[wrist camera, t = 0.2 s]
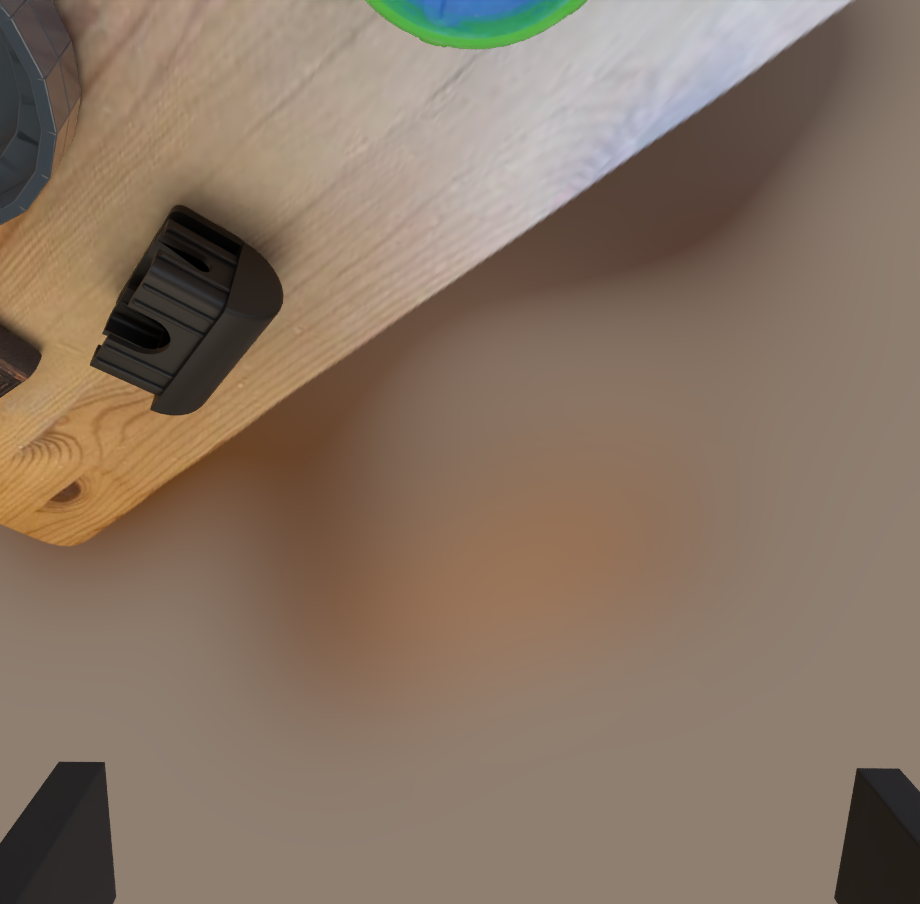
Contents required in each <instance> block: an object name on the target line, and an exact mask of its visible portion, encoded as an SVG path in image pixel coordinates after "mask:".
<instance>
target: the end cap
mask: <svg viewBox="0 0 920 904" xmlns="http://www.w3.org/2000/svg"><path fill="white" fill-rule="evenodd" d="M282 304H283V290H282V285H281V283H280V280H279V278H278V276H277V274H276V272H275V271H274V269H273V268H272V267H271V265H270V264H269V263H268V261H267V260H266V259H265V258H264V257H263V256H262V255H261V254H260V253H258V252H257V251H256V250H255V249H253V248H252V247H251V246H249V245H248V244H246V243H245V242H244V241H242V240H241V239H240V238H238V237H237V236H235V235H233V234H231V233H230V232H228V231H226V230H225V229H223V228H221V227H219V226H218V225H216V224H214V223H212V222H211V221H209V220H207V219H205V218H204V217H202V216H200V215H198V214H197V213H195V212H193V211H192V210H190V209H188V208H186V207H183V206H175V207H174V208H173V209H172V210H171V211H170V213H169V215H168V216H167V218H166V220H165V221H164V223H163V224H162V226H161V228H160V229H159V231H158V233H157V234H156V236H155V238H154V239H153V241H152V242H151V244H150V246H149V247H148V249H147V251H146V252H145V254H144V256H143V257H142V259H141V260H140V262H139V264H138V265H137V267H136V269H135V270H134V272H133V274H132V275H131V277H130V278H129V280H128V282H127V283H126V285H125V287H124V288H123V290H122V292H121V293H120V295H119V297H118V299H117V302H116V306H115V307H114V309H113V311H112V313H111V314H110V317H109V319H108V321H107V323H106V326H105V328H104V331H103V333H102V334H104V335H106V336H107V338H106V339H105V341H104V343H103V344H102V346H101V345H98V347H97V348H96V351H95V353H94V355H93V358H92V360H91V363H90V366H92V367H95V368H97V369H99V370H101V371H103V372H106V373H108V374H110V375H112V376H115V377H117V378H119V379H121V380H124V381H126V382H128V383H130V384H132V385H135V386H137V387H139V388H141V389H144V390H146V391H148V392H150V393H153V394H155V396H154V399H153V402H152V405H151V409H150V410H152V411H155V412H158V413H161V414H166V415H184V414H189V413H192V412H194V411H196V410H197V409H199V408H200V407H201V406H203V404H204V403H205V402H206V401H207V399H208V398H209V397H210V396H211V395H212V393H213V392H214V391H215V390H216V388H217V387H218V386H219V385H220V383H221V382H222V381H223V380H224V379H225V377H226V376H227V375H228V374H229V372H230V371H231V370H232V369H233V368H234V366H235V365H236V364H237V363H238V361H239V360H240V359H241V358H242V356H243V355H244V354H245V353H246V352H247V350H248V349H249V348H250V347H251V345H252V344H253V343H254V342H255V341H256V339H257V338H258V337H259V336H260V334H261V333H262V332H263V331H264V330H265V328H266V327H267V326H268V325H269V323H270V322H271V321H272V320H273V318H274V317H275V316H276V315H277V313H278V312H279V311H280V309H281V306H282Z"/></svg>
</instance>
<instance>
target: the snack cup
mask: <svg viewBox="0 0 920 904" xmlns="http://www.w3.org/2000/svg"><path fill="white" fill-rule="evenodd" d="M365 1H366V2H367V3H368V4H369V5H370V6H371V7H372V8H373V9H374V10H375V11H376V12H378V13H379V14H380V15H381V16H383V17H384V18H385V19H386V20H388V21H389V22H391V23H392V24H394V25H395V26H397V27H399V28H400V29H402V30H404V31H406V32H408V33H410V34H412V35H414V36H416V37H418V38H419V39H420V40H421V41H423V42H426V43H429V44H432V45H435V46H442V47H447V46H449V47H454V48H460V49H490V48H496V47H503V46H507V45H511V44H514V43H517V42H520V41H523V40H526V39H528V38H531V37H533V36H535V35H537V34H539V33H541V32H543V31H545V30H547V29H548V28H550V27H551V26H553V25H555V24H556V23H558V22H559V21H561V20H562V19H564V18H565V17H566V16H568V15H570V14H572V13H573V12H575V11H576V10H578V9H579V8H580V7H581V6H582V5H583V4H584V3H585V2H586V1H587V0H365Z"/></svg>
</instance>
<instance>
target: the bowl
mask: <svg viewBox="0 0 920 904" xmlns="http://www.w3.org/2000/svg"><path fill="white" fill-rule="evenodd" d="M80 100H81V88H80V83H79V78H78V72H77V67H76V61H75V56H74V50H73V45H72V41H71V40H70V36H69V34H68V32H67V30H66V28H65V26H64V24H63V22H62V20H61V18H60V16H59V14H58V12H57V10H56V8H55V6H54V4H53V2H52V0H0V225H2V224H4V223H6V222H7V221H9V220H11V219H13V218H15V217H17V216H19V215H21V214H22V213H24V212H26V211H27V210H28V209H29V208H30V206H31V205H32V203H33V202H34V201H35V199H36V198H37V196H38V195H39V194H40V192H41V191H42V189H43V188H44V187H45V185H46V184H47V183H48V181H49V180H50V178H51V176H52V175H53V173H54V171H55V169H56V168H57V166H58V164H59V162H60V161H61V159H62V157H63V155H64V154H65V152H66V150H67V148H68V147H69V145H70V143H71V141H72V140H73V137H74V133H75V128H76V122H77V116H78V111H79V105H80Z"/></svg>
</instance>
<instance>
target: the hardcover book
mask: <svg viewBox="0 0 920 904" xmlns="http://www.w3.org/2000/svg"><path fill="white" fill-rule="evenodd" d="M41 357H42V355H41V353H39V352H38V351H36V350H35V349H33V348H32V347H31V346H29V345H28V344H26V343H25V342H23V341H22V340H20V339H19V338H17V337H16V336H14V335H13V334H11V333H10V332H8V331H7V330H5V329H4V328H2V327H1V326H0V398H1V397H2V396H4V395H5V394H6V393H8V392H9V391H11V390H12V389H14V388H15V387H17V386H18V385H19V384H21V383H22V382H24V381H25V380H27V379H28V378H29V377H30V376H31V375H32V374H33V373H34V371H35V370H36V368H37V366H38V364H39V362H40V360H41Z"/></svg>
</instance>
